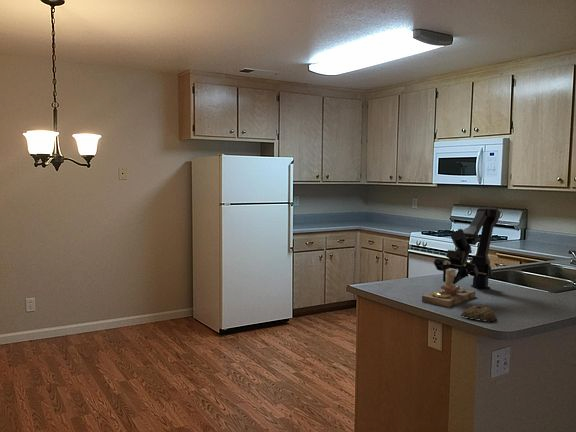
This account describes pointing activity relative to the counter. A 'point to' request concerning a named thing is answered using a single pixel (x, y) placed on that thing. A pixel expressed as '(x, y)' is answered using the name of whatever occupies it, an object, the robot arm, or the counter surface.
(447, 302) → the gear board
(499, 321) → the counter surface
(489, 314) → the bread roll
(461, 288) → the gear
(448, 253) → the robot arm
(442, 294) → the gear
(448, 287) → the idler gear
